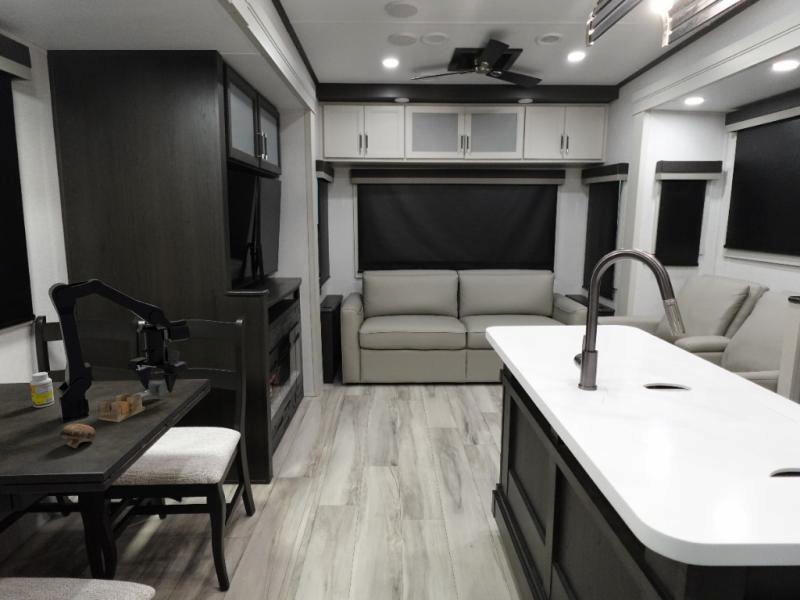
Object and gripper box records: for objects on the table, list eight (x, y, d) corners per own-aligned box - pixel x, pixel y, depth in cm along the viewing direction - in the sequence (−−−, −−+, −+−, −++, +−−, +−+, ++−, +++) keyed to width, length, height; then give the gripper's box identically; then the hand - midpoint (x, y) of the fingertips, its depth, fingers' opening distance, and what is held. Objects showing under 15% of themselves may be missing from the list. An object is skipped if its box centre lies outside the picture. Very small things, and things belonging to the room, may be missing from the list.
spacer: (122, 414, 148) (121, 404, 147) (111, 412, 149) (110, 403, 149) (129, 411, 150) (128, 402, 150) (118, 409, 151) (117, 400, 151)
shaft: (137, 405, 153) (136, 393, 152) (127, 404, 154) (125, 392, 154) (165, 393, 164) (164, 381, 163) (155, 392, 165) (154, 380, 164)
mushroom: (63, 444, 123) (71, 418, 126) (50, 448, 127) (57, 424, 130) (97, 449, 128) (103, 425, 131) (83, 453, 133) (90, 430, 136)
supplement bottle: (35, 403, 160) (31, 372, 158) (56, 400, 162) (52, 370, 160) (30, 409, 155) (26, 377, 153) (51, 406, 157) (48, 375, 155)
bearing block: (118, 422, 145) (116, 405, 144) (99, 419, 147) (97, 403, 146) (145, 409, 154) (143, 394, 153) (126, 407, 156) (125, 391, 155)
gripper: (196, 340, 166) (199, 385, 169) (150, 337, 172) (154, 380, 174) (172, 348, 156) (175, 396, 158) (124, 344, 161) (128, 391, 164)
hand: (158, 390), depth 164 cm, fingers open, 9 cm apart
